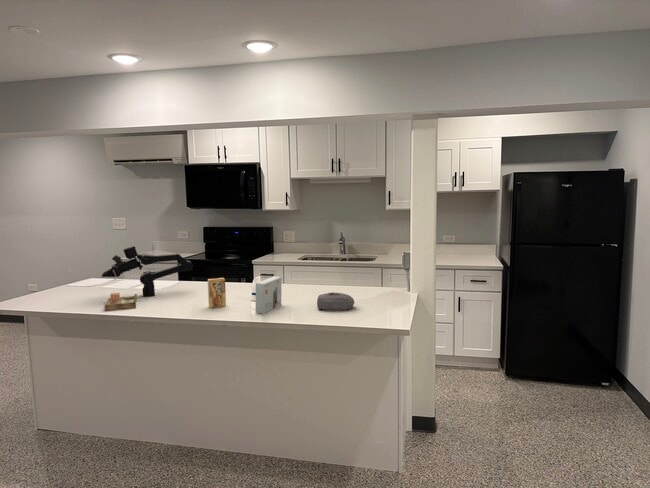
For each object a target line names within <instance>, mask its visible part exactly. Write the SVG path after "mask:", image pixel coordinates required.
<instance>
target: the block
mask: <svg viewBox="0 0 650 488" xmlns="http://www.w3.org/2000/svg"><path fill="white" fill-rule="evenodd" d="M120 297H121V293H120V292H112V293H110V295H109V298H110V299H111V301H112V300H120Z"/></svg>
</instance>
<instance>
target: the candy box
mask: <svg viewBox="0 0 650 488" xmlns="http://www.w3.org/2000/svg"><path fill="white" fill-rule="evenodd" d="M207 296H208V307H209V308H210V309H213V308H212V307H214V308H219V307H221V308H222V307H226V306H227V297H226V296H227V295H226V279H225V278H224V277H219V278H218V277H217V278H208V279H207Z"/></svg>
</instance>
